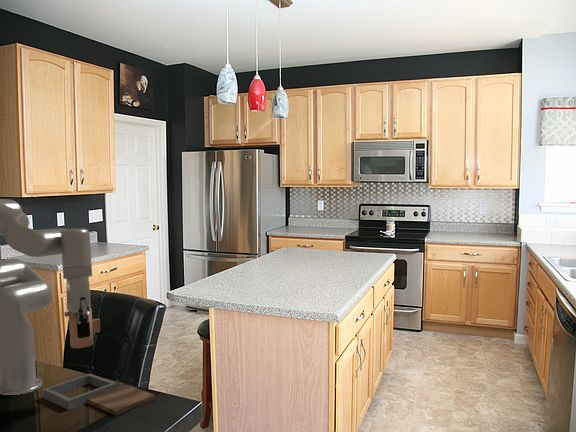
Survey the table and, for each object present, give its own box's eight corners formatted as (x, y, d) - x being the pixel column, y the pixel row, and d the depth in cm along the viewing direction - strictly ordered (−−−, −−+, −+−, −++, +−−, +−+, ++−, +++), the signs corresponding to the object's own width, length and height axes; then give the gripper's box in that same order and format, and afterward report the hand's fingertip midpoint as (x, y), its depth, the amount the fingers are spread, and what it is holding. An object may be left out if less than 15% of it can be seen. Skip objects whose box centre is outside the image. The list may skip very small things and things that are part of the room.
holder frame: (43, 398, 134) (42, 389, 134) (90, 381, 145) (90, 373, 145) (68, 410, 125) (68, 401, 125) (117, 391, 137) (116, 383, 137)
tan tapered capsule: (65, 345, 135) (62, 310, 134) (98, 339, 140) (96, 305, 139) (68, 350, 130) (66, 314, 129) (103, 343, 135) (101, 308, 134)
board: (86, 403, 129) (86, 398, 129) (125, 388, 139) (125, 384, 139) (115, 415, 121) (115, 411, 121) (154, 399, 130) (154, 394, 130)
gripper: (58, 270, 139) (62, 331, 139) (68, 276, 124) (73, 344, 125) (85, 267, 143) (89, 326, 143) (98, 273, 129) (102, 338, 129)
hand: (81, 334), depth 134 cm, fingers closed on tan tapered capsule, 6 cm apart
